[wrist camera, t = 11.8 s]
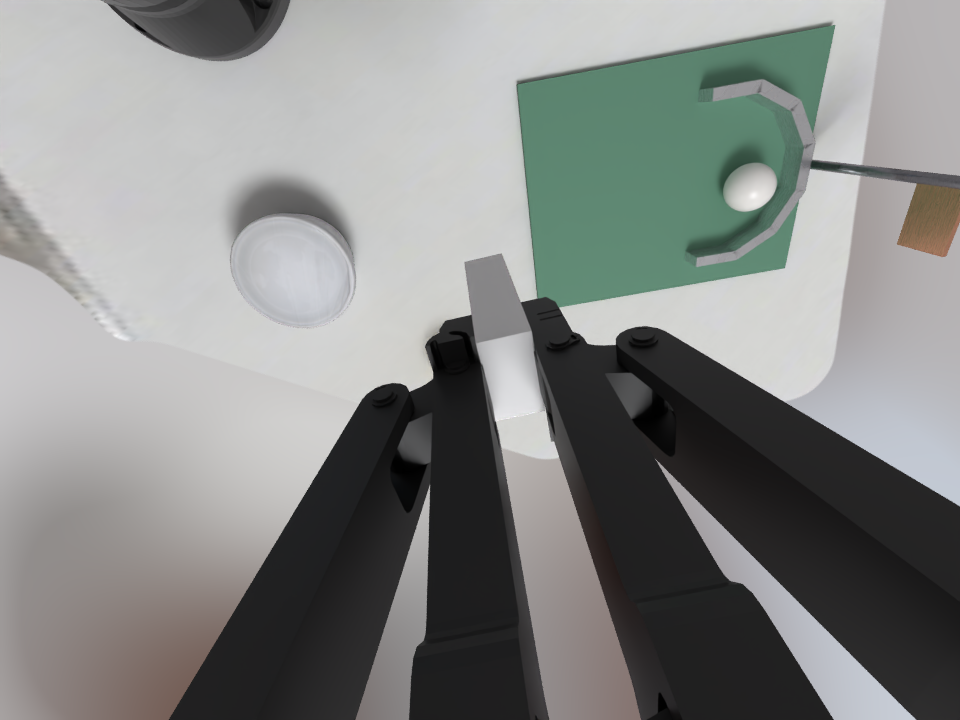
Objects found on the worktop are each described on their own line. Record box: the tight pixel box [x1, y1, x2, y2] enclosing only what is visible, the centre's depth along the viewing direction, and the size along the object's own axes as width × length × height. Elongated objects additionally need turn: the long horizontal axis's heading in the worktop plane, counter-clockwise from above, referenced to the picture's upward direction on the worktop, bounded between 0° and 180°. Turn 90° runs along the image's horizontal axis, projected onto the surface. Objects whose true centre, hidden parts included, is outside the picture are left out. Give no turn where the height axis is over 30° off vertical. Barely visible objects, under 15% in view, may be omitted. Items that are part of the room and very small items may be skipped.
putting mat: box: [517, 25, 835, 307], centre depth 43 cm, size 22×28×1 cm
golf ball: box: [723, 163, 777, 212], centre depth 41 cm, size 4×4×4 cm
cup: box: [685, 79, 960, 267], centre depth 35 cm, size 16×12×16 cm
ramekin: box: [230, 213, 356, 328], centre depth 42 cm, size 11×11×5 cm
